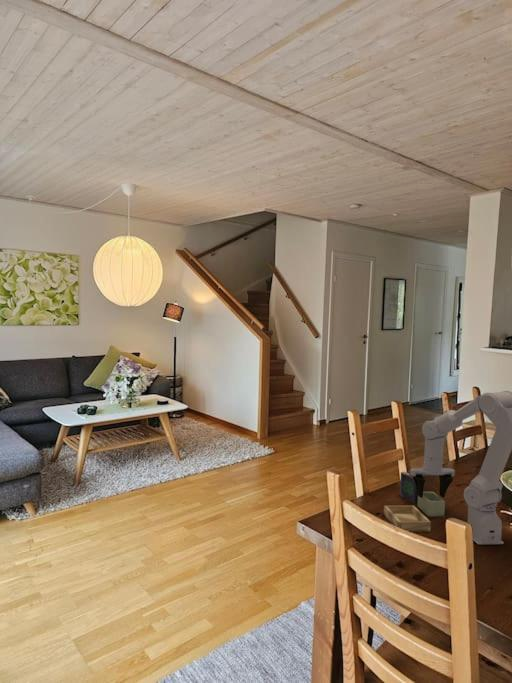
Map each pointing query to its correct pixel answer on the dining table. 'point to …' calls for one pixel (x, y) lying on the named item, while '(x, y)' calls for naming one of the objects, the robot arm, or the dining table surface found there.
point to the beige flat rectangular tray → (407, 518)
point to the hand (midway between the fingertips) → (431, 496)
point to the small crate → (431, 504)
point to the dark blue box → (408, 488)
